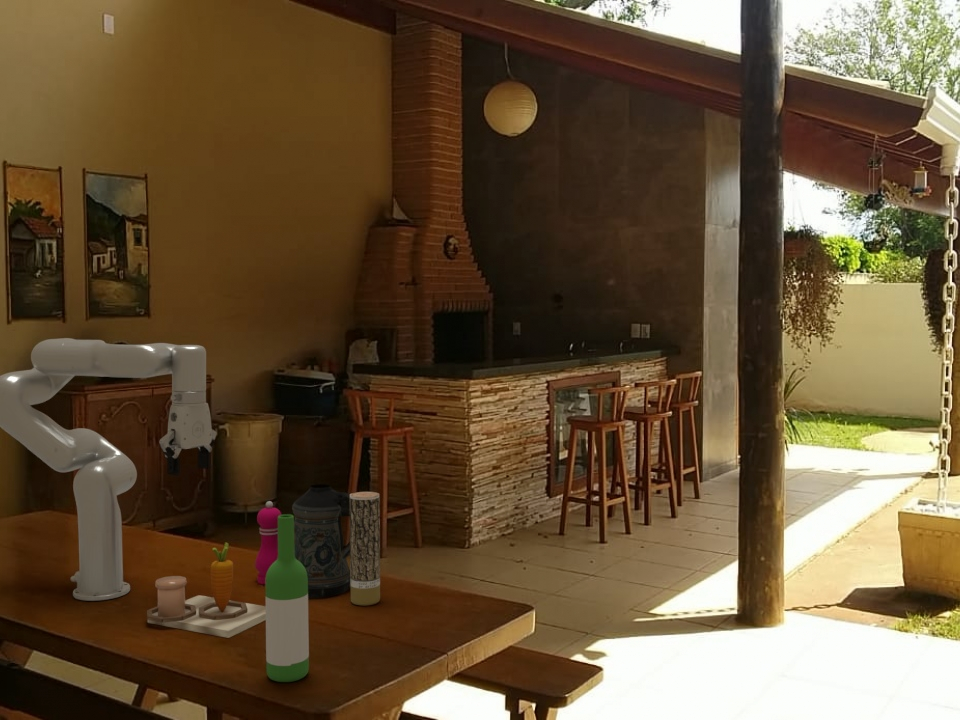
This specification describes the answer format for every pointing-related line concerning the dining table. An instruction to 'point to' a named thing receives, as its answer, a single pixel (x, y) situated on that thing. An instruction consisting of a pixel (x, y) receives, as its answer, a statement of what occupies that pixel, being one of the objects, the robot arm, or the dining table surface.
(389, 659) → the dining table surface
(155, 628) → the dining table surface
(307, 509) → the beer stein
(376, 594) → the paper tube
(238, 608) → the stand
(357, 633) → the dining table surface
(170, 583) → the pink lidded jar
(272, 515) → the pepper mill
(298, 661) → the wine bottle
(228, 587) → the carrot
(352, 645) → the dining table surface
